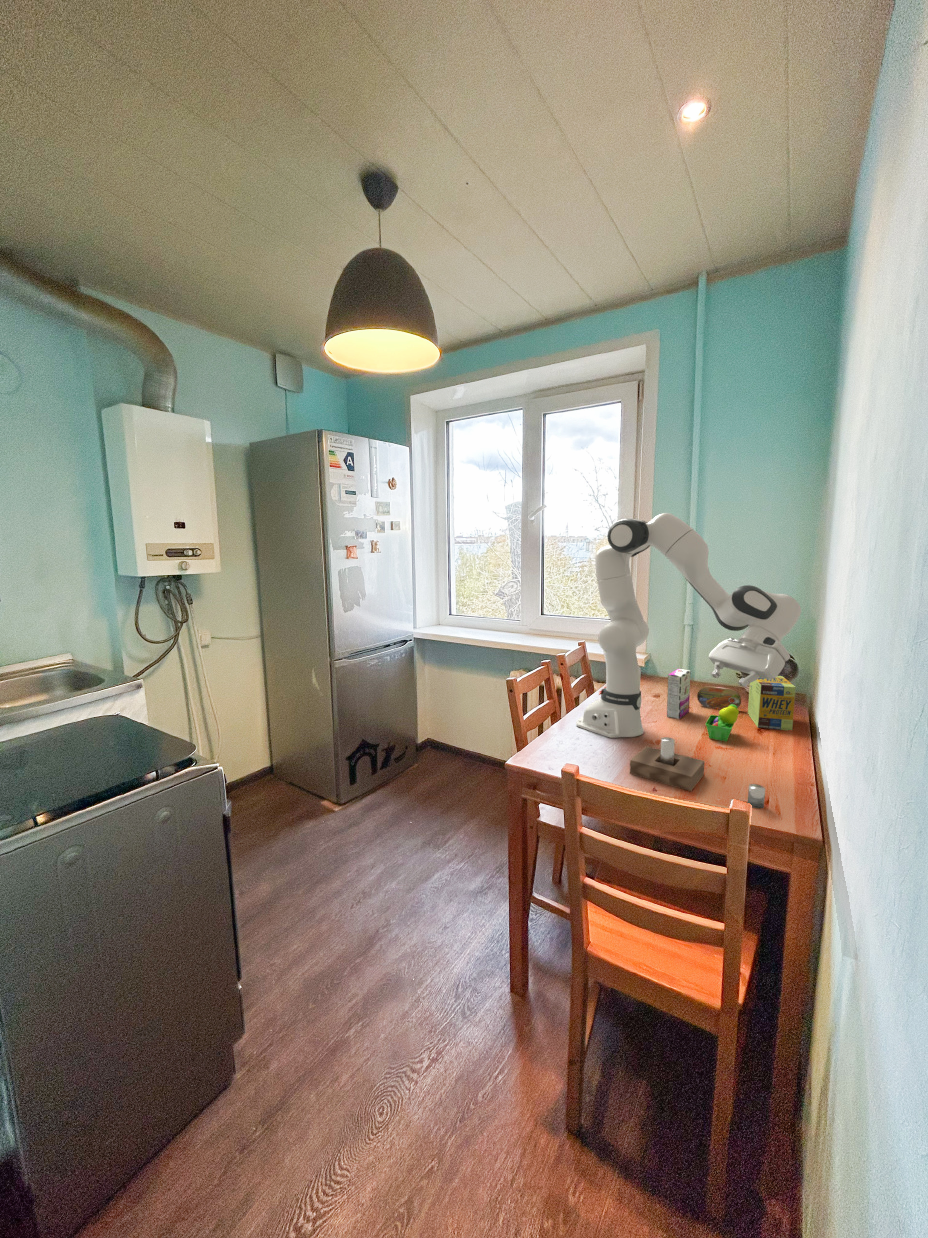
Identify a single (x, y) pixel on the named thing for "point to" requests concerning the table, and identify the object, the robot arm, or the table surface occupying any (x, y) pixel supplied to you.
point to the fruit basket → (722, 723)
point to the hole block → (667, 769)
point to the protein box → (772, 703)
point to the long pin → (667, 751)
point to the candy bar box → (678, 693)
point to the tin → (718, 697)
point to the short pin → (756, 796)
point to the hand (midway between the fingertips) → (727, 680)
